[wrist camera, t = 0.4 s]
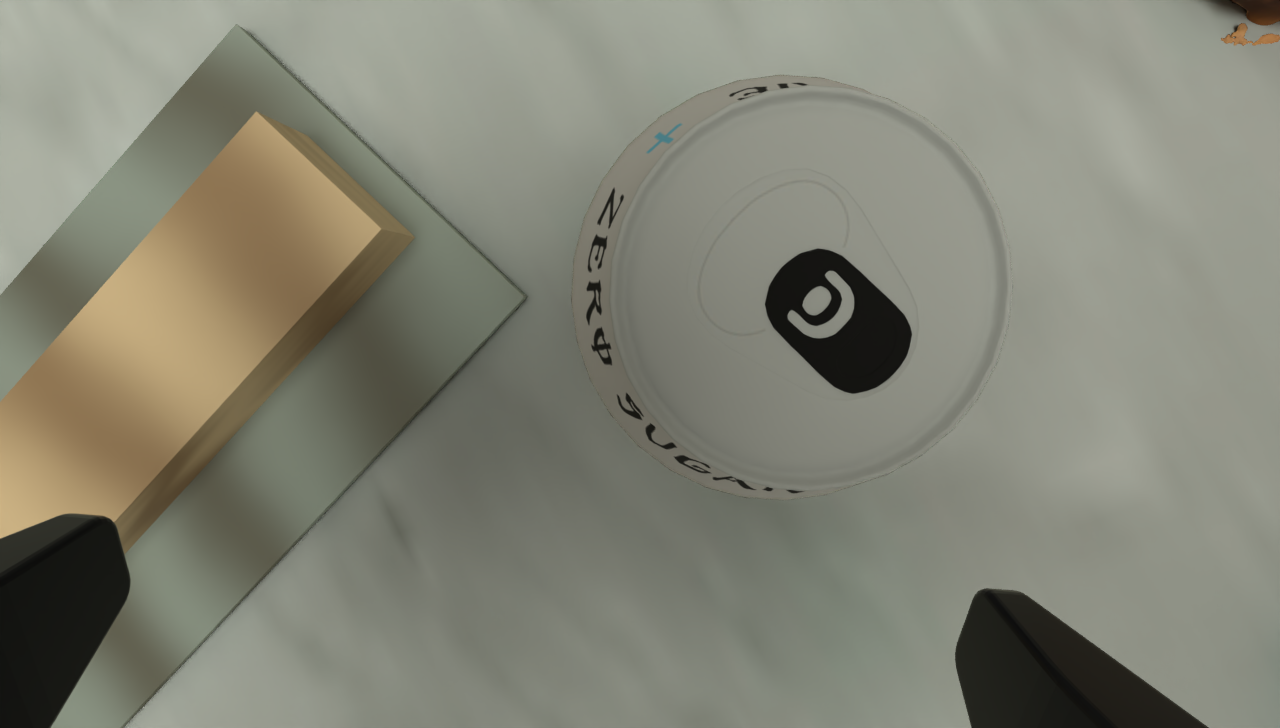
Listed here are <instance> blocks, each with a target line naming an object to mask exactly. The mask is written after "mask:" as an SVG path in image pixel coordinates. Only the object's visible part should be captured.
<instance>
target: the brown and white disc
mask: <svg viewBox="0 0 1280 728" xmlns="http://www.w3.org/2000/svg"><path fill="white" fill-rule="evenodd" d="M1230 1H1232V2H1233V3H1237V4H1239V5H1241V6H1242V7H1243V8H1245V9H1246V10H1247V14H1246V17H1247V19H1248V20H1250V21H1251V22H1253V23H1256V24H1259V25H1271V24H1273V23H1276V22H1278V21H1280V0H1230ZM1247 29H1248V28H1247V26H1246V24H1243V23H1241V24H1240V25H1239V26H1238V29H1237V31H1236V32H1234V33H1232V34H1231V36H1230V34H1229V35H1227V36H1226V38H1223V39H1222V38H1221V40H1222V41H1224V43H1232V42H1234V45H1236V44H1242V45H1243V46H1244V45H1245V44H1247V43H1252V45H1257V44H1261V43H1263V44H1268V43H1271V44H1272V43H1274V42H1278V41H1279V40H1280V36H1279V35H1274V34H1266V35H1263V36H1262V37H1260V38H1259V40H1258V41H1256V42H1255V43H1253V42H1252V41H1248V42H1247V39H1245V38H1244V36H1245V33H1246V31H1247ZM1233 37H1236V38H1233Z"/></svg>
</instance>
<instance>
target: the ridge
mask: <svg viewBox="0 0 1280 728" xmlns="http://www.w3.org/2000/svg"><path fill="white" fill-rule="evenodd" d="M526 298H527V296H526V295H525V294H524V293H523V292H522V291H521V290H519V289H518V288H517V287H516V286H515V285H514V284H513V283H512V282H511V281H510V280H509V279H508V278H507V277H506V276H505V275H504V274H503V273H502V272H500V271H499V270H498V269H497V268H496V267H495V266H494V265H493V264H492V263H491V262H490V261H489V260H488V259H487V258H486V257H485V256H484V255H483V254H481V253H480V252H479V251H478V250H477V249H476V248H475V247H474V246H473V245H472V244H471V243H470V242H469V241H468V240H467V239H466V238H465V237H464V236H462V235H461V234H460V233H459V232H458V231H457V230H456V229H455V228H454V227H453V226H452V225H451V224H450V223H449V222H448V221H447V220H446V219H445V218H443V217H442V216H441V215H440V214H439V213H438V212H437V211H436V210H435V209H434V208H433V207H432V206H431V205H430V204H429V203H428V202H427V201H426V200H424V199H423V198H422V197H421V196H420V195H419V194H418V193H417V192H416V191H415V190H414V189H413V188H412V187H411V186H410V185H409V184H408V183H407V182H405V181H404V180H403V179H402V178H401V177H400V176H399V175H398V174H397V173H396V172H395V171H394V170H393V169H392V168H391V167H390V166H389V165H388V164H386V163H385V162H384V161H383V160H382V159H381V158H380V157H379V156H378V155H377V154H376V153H375V152H374V151H373V150H372V149H371V148H370V147H369V146H368V145H366V144H365V143H364V142H363V141H362V140H361V139H360V138H359V137H358V136H357V135H356V134H355V133H354V132H353V131H352V130H351V129H350V128H349V127H347V126H346V125H345V124H344V123H343V122H342V121H341V120H340V119H339V118H338V117H337V116H336V115H335V114H334V113H333V112H332V111H331V110H330V109H328V108H327V107H326V106H325V105H324V104H323V103H322V102H321V101H320V100H319V99H318V98H317V97H316V96H315V95H314V94H313V93H312V92H311V91H309V90H308V89H307V88H306V87H305V86H304V85H303V84H302V83H301V82H300V81H299V80H298V79H297V78H296V77H295V76H294V75H293V74H292V73H290V72H289V71H288V70H287V69H286V68H285V67H284V66H283V65H282V64H281V63H280V62H279V61H278V60H277V59H276V58H275V57H274V56H273V55H271V54H270V53H269V52H268V51H267V50H266V49H265V48H264V47H263V46H262V45H261V44H260V43H259V42H258V41H257V40H256V39H255V38H254V37H252V36H251V35H250V34H249V33H248V32H247V31H246V30H244V29H243V28H241V27H240V26H238V25H237V24H236V25H235V26H234V27H233V28H232V30H231V31H230V32H229V33H228V34H227V35H226V36H225V38H224V39H223V40H222V41H221V42H220V43H219V44H218V46H217V47H216V48H215V49H214V50H213V51H212V53H211V54H210V55H209V56H208V57H207V58H206V59H205V61H204V62H203V63H202V64H201V65H200V66H199V68H198V69H197V70H196V71H195V72H194V73H193V74H192V76H191V77H190V78H189V79H188V80H187V81H186V82H185V84H184V85H183V86H182V87H181V88H180V89H179V91H178V92H177V93H176V94H175V95H174V96H173V97H172V99H171V100H170V101H169V102H168V103H167V104H166V105H165V107H164V108H163V109H162V110H161V111H160V112H159V114H158V115H157V116H156V117H155V118H154V119H153V120H152V122H151V123H150V124H149V125H148V126H147V127H146V128H145V130H144V131H143V132H142V133H141V134H140V135H139V137H138V138H137V139H136V140H135V141H134V142H133V143H132V145H131V146H130V147H129V148H128V149H127V150H126V151H125V153H124V154H123V155H122V156H121V157H120V158H119V160H118V161H117V162H116V163H115V164H114V165H113V166H112V168H111V169H110V170H109V171H108V172H107V173H106V174H105V176H104V177H103V178H102V179H101V180H100V181H99V183H98V184H97V185H96V186H95V187H94V188H93V189H92V191H91V192H90V193H89V194H88V195H87V196H86V197H85V199H84V200H83V201H82V202H81V203H80V204H79V206H78V207H77V208H76V209H75V210H74V211H73V212H72V214H71V215H70V216H69V217H68V218H67V219H66V220H65V222H64V223H63V224H62V225H61V226H60V227H59V229H58V230H57V231H56V232H55V233H54V234H53V235H52V237H51V238H50V239H49V240H48V241H47V242H46V243H45V245H44V246H43V247H42V248H41V249H40V250H39V252H38V253H37V254H36V255H35V256H34V257H33V258H32V260H31V261H30V262H29V263H28V264H27V265H26V266H25V268H24V269H23V270H22V271H21V272H20V273H19V275H18V276H17V277H16V278H15V279H14V280H13V281H12V283H11V284H10V285H9V286H8V287H7V288H6V289H5V291H4V292H3V293H2V294H1V295H0V538H3V537H5V536H8V535H10V534H13V533H16V532H18V531H21V530H23V529H26V528H28V527H31V526H33V525H36V524H38V523H41V522H44V521H46V520H49V519H51V518H54V517H56V516H59V515H62V514H68V513H77V514H89V515H101V516H105V517H108V518H110V519H111V520H112V521H113V522H114V523H115V524H116V527H117V529H118V533H119V536H120V540H121V544H122V547H123V551H124V555H125V558H126V562H127V566H128V569H129V573H130V578H131V584H130V591H129V594H128V597H127V600H126V602H125V604H124V606H123V608H122V609H121V611H120V613H119V614H118V616H117V618H116V619H115V621H114V623H113V624H112V626H111V628H110V629H109V631H108V633H107V634H106V636H105V638H104V639H103V641H102V643H101V645H100V646H99V648H98V650H97V651H96V653H95V655H94V656H93V658H92V660H91V661H90V663H89V665H88V666H87V668H86V670H85V671H84V673H83V675H82V676H81V678H80V680H79V681H78V683H77V685H76V686H75V688H74V690H73V691H72V693H71V695H70V697H69V698H68V700H67V702H66V703H65V705H64V707H63V708H62V710H61V712H60V713H59V715H58V717H57V718H56V720H55V722H54V723H53V725H52V726H51V728H123V727H124V726H125V725H126V724H127V723H128V722H129V721H130V720H131V719H132V718H133V717H134V716H135V714H136V713H137V712H138V711H139V710H140V709H141V708H142V707H143V706H144V705H145V704H146V703H147V702H148V701H149V700H150V698H151V697H152V696H153V695H154V694H155V693H156V692H157V691H158V690H159V689H160V688H161V687H162V686H163V685H164V684H165V683H166V681H167V680H168V679H169V678H170V677H171V676H172V675H173V674H174V673H175V672H176V671H177V670H178V669H179V668H180V667H181V665H182V664H183V663H184V662H185V661H186V660H187V659H188V658H189V657H190V656H191V655H192V654H193V653H194V652H195V651H196V649H197V648H198V647H199V646H200V645H201V644H202V643H203V642H204V641H205V640H206V639H207V638H208V637H209V636H210V635H211V634H212V632H213V631H214V630H215V629H216V628H217V627H218V626H219V625H220V624H221V623H222V622H223V621H224V620H225V619H226V618H227V616H228V615H229V614H230V613H231V612H232V611H233V610H234V609H235V608H236V607H237V606H238V605H239V604H240V603H241V602H242V601H243V599H244V598H245V597H246V596H247V595H248V594H249V593H250V592H251V591H252V590H253V589H254V588H255V587H256V586H257V585H258V583H259V582H260V581H261V580H262V579H263V578H264V577H265V576H266V575H267V574H268V573H269V572H270V571H271V570H272V569H273V567H274V566H275V565H276V564H277V563H278V562H279V561H280V560H281V559H282V558H283V557H284V556H285V555H286V554H287V553H288V552H289V550H290V549H291V548H292V547H293V546H294V545H295V544H296V543H297V542H298V541H299V540H300V539H301V538H302V537H303V536H304V534H305V533H306V532H307V531H308V530H309V529H310V528H311V527H312V526H313V525H314V524H315V523H316V522H317V521H318V520H319V518H320V517H321V516H322V515H323V514H324V513H325V512H326V511H327V510H328V509H329V508H330V507H331V506H332V505H333V504H334V503H335V501H336V500H337V499H338V498H339V497H340V496H341V495H342V494H343V493H344V492H345V491H346V490H347V489H348V488H349V487H350V485H351V484H352V483H353V482H354V481H355V480H356V479H357V478H358V477H359V476H360V475H361V474H362V473H363V472H364V471H365V469H366V468H367V467H368V466H369V465H370V464H371V463H372V462H373V461H374V460H375V459H376V458H377V457H378V456H379V455H380V454H381V452H382V451H383V450H384V449H385V448H386V447H387V446H388V445H389V444H390V443H391V442H392V441H393V440H394V439H395V438H396V436H397V435H398V434H399V433H400V432H401V431H402V430H403V429H404V428H405V427H406V426H407V425H408V424H409V423H410V422H411V420H412V419H413V418H414V417H415V416H416V415H417V414H418V413H419V412H420V411H421V410H422V409H423V408H424V407H425V406H426V405H427V403H428V402H429V401H430V400H431V399H432V398H433V397H434V396H435V395H436V394H437V393H438V392H439V391H440V390H441V389H442V387H443V386H444V385H445V384H446V383H447V382H448V381H449V380H450V379H451V378H452V377H453V376H454V375H455V374H456V373H457V371H458V370H459V369H460V368H461V367H462V366H463V365H464V364H465V363H466V362H467V361H468V360H469V359H470V358H471V357H472V356H473V354H474V353H475V352H476V351H477V350H478V349H479V348H480V347H481V346H482V345H483V344H484V343H485V342H486V341H487V340H488V338H489V337H490V336H491V335H492V334H493V333H494V332H495V331H496V330H497V329H498V328H499V327H500V326H501V325H502V324H503V323H504V321H505V320H506V319H507V318H508V317H509V316H510V315H511V314H512V313H513V312H514V311H515V310H516V309H517V308H518V307H519V305H520V304H521V303H522V302H523V301H524V300H525V299H526Z"/></svg>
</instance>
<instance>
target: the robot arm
mask: <svg viewBox="0 0 1280 728" xmlns="http://www.w3.org/2000/svg"><path fill="white" fill-rule="evenodd" d="M130 584H131V578H130V573H129V569H128V566H127V562H126V558H125V555H124V551H123V547H122V544H121V540H120V536H119V533H118V529H117V527H116V524H115V523H114V522H113V521H112V520H111V519H110V518H108V517H105V516H101V515H89V514H77V513H68V514H62V515H59V516H56V517H54V518H51V519H49V520H46V521H44V522H41V523H38V524H36V525H33V526H31V527H28V528H26V529H23V530H21V531H18V532H16V533H13V534H10V535H8V536H5V537H3V538H0V728H51V726H52V725H53V723H54V722H55V720H56V718H57V717H58V715H59V713H60V712H61V710H62V708H63V707H64V705H65V703H66V702H67V700H68V698H69V697H70V695H71V693H72V691H73V690H74V688H75V686H76V685H77V683H78V681H79V680H80V678H81V676H82V675H83V673H84V671H85V670H86V668H87V666H88V665H89V663H90V661H91V660H92V658H93V656H94V655H95V653H96V651H97V650H98V648H99V646H100V645H101V643H102V641H103V639H104V638H105V636H106V634H107V633H108V631H109V629H110V628H111V626H112V624H113V623H114V621H115V619H116V618H117V616H118V614H119V613H120V611H121V609H122V608H123V606H124V604H125V602H126V600H127V597H128V594H129V591H130ZM955 662H956V669H957V673H958V677H959V681H960V685H961V689H962V693H963V697H964V700H965V704H966V708H967V712H968V716H969V720H970V723H971V727H972V728H1208V727H1207V726H1206V725H1204V724H1203V723H1202V722H1200V721H1199V720H1197V719H1196V718H1195V717H1193V716H1192V715H1191V714H1189V713H1188V712H1186V711H1185V710H1184V709H1182V708H1181V707H1180V706H1178V705H1177V704H1175V703H1174V702H1173V701H1171V700H1170V699H1169V698H1167V697H1166V696H1164V695H1163V694H1162V693H1160V692H1159V691H1158V690H1156V689H1155V688H1153V687H1152V686H1151V685H1149V684H1148V683H1147V682H1145V681H1144V680H1142V679H1141V678H1140V677H1138V676H1137V675H1135V674H1134V673H1133V672H1131V671H1130V670H1129V669H1127V668H1126V667H1124V666H1123V665H1122V664H1120V663H1119V662H1118V661H1116V660H1115V659H1113V658H1112V657H1111V656H1109V655H1108V654H1107V653H1105V652H1104V651H1102V650H1101V649H1100V648H1098V647H1097V646H1096V645H1094V644H1093V643H1091V642H1090V641H1089V640H1087V639H1086V638H1085V637H1083V636H1082V635H1080V634H1079V633H1078V632H1076V631H1075V630H1074V629H1072V628H1071V627H1069V626H1068V625H1067V624H1065V623H1064V622H1063V621H1061V620H1060V619H1058V618H1057V617H1056V616H1054V615H1053V614H1052V613H1050V612H1049V611H1047V610H1046V609H1045V608H1043V607H1042V606H1041V605H1039V604H1038V603H1036V602H1035V601H1034V600H1032V599H1031V598H1030V597H1028V596H1027V595H1025V594H1024V593H1021V592H1018V591H1013V590H1001V589H989V588H986V589H982V590H980V591H978V592H977V593H976V595H975V596H974V598H973V600H972V603H971V606H970V609H969V611H968V614H967V617H966V620H965V623H964V625H963V628H962V631H961V634H960V636H959V639H958V642H957V646H956V652H955Z"/></svg>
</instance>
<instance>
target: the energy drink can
mask: <svg viewBox="0 0 1280 728" xmlns="http://www.w3.org/2000/svg"><path fill="white" fill-rule="evenodd" d="M1012 292H1013V280H1012V268H1011V256H1010V246H1009V243H1008V239H1007V236H1006V232H1005V229H1004V225H1003V222H1002V218H1001V215H1000V211H999V208H998V206H997V204H996V202H995V201H994V199H993V197H992V195H991V193H990V191H989V189H988V187H987V185H986V183H985V181H984V179H983V177H982V176H981V174H980V172H979V171H978V170H977V169H976V167H975V166H974V165H973V164H972V163H971V161H970V160H969V159H968V158H967V156H966V155H965V154H964V153H963V151H962V150H961V149H960V148H959V146H958V145H957V144H956V143H955V142H954V141H953V140H952V139H950V138H949V137H948V136H947V135H945V134H944V133H943V132H942V131H940V130H939V129H938V128H937V127H936V126H934V125H933V124H932V123H931V122H929V121H928V120H927V119H926V118H925V117H923V116H921V115H919V114H917V113H915V112H913V111H911V110H909V109H907V108H905V107H904V106H902V105H900V104H898V103H896V102H894V101H892V100H890V99H888V98H884V97H881V96H877V95H873V94H871V93H869V92H867V91H866V90H864V89H860V88H857V87H853V86H850V85H846V84H842V83H839V82H835V81H832V80H828V79H825V78H817V77H803V76H788V75H775V76H768V77H761V78H753V79H746V80H739V81H735V82H732V83H729V84H726V85H724V86H721V87H718V88H715V89H712V90H709V91H706V92H703V93H700V94H698V95H696V96H694V97H692V98H691V99H689V100H687V101H686V102H684V103H682V104H680V105H679V106H677V107H675V108H674V109H672V110H670V111H669V112H667V113H665V114H664V115H662V116H660V117H659V118H658V119H657V120H656V121H655V122H653V123H652V124H651V125H650V126H649V127H648V128H647V129H646V130H645V131H643V132H642V133H641V134H640V135H639V136H638V137H637V138H636V139H635V140H633V141H632V142H631V143H630V144H629V145H628V146H627V147H626V149H625V150H624V151H623V153H622V154H621V155H620V157H619V158H618V159H617V161H616V162H615V163H614V165H613V166H612V167H611V169H610V170H609V172H608V173H607V174H606V176H605V177H604V178H603V180H602V182H601V184H600V186H599V188H598V190H597V192H596V194H595V196H594V198H593V200H592V202H591V205H590V207H589V209H588V211H587V213H586V215H585V217H584V220H583V224H582V228H581V232H580V236H579V240H578V244H577V248H576V252H575V255H574V261H573V279H572V296H571V302H572V309H573V316H574V323H575V331H576V338H577V343H578V346H579V349H580V351H581V354H582V357H583V360H584V363H585V366H586V369H587V372H588V375H589V377H590V380H591V382H592V384H593V385H594V387H595V389H596V390H597V392H598V394H599V396H600V397H601V399H602V401H603V402H604V404H605V406H606V407H607V409H608V411H609V413H610V414H611V416H612V417H613V418H614V419H615V420H616V421H617V422H618V424H619V425H620V426H621V427H622V428H623V429H624V430H625V431H626V433H627V434H628V435H629V436H630V437H631V438H632V439H633V440H634V442H635V443H636V444H637V445H638V446H639V447H641V448H642V449H643V450H645V451H646V452H647V453H649V454H650V455H651V456H653V457H654V458H655V459H657V460H658V461H659V462H660V463H662V464H663V465H664V466H666V467H667V468H668V469H670V470H672V471H674V472H676V473H678V474H680V475H682V476H684V477H686V478H688V479H690V480H692V481H694V482H696V483H698V484H700V485H702V486H705V487H707V488H711V489H714V490H718V491H722V492H726V493H730V494H734V495H737V496H741V497H745V498H760V499H776V500H790V499H798V498H806V497H813V496H821V495H827V494H830V493H833V492H836V491H839V490H842V489H845V488H848V487H851V486H854V485H857V484H860V483H863V482H866V481H869V480H872V479H875V478H878V477H881V476H884V475H887V474H889V473H891V472H893V471H895V470H897V469H898V468H900V467H902V466H904V465H906V464H907V463H909V462H911V461H913V460H914V459H916V458H918V457H920V456H922V455H923V454H924V453H925V452H927V451H928V450H929V449H930V448H931V447H933V446H934V445H935V444H936V443H937V442H939V441H940V440H941V439H942V438H943V437H945V436H946V435H947V434H948V433H949V432H951V431H952V430H953V429H954V427H955V426H956V425H957V424H958V423H959V421H960V420H961V419H962V418H963V416H964V415H965V414H966V413H967V412H968V410H969V409H970V408H971V407H972V406H973V404H974V403H975V402H976V401H977V399H978V398H979V396H980V394H981V392H982V390H983V388H984V387H985V385H986V383H987V381H988V379H989V377H990V376H991V374H992V372H993V370H994V368H995V366H996V364H997V361H998V358H999V355H1000V352H1001V349H1002V345H1003V342H1004V339H1005V336H1006V333H1007V330H1008V326H1009V318H1010V309H1011V300H1012Z"/></svg>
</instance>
